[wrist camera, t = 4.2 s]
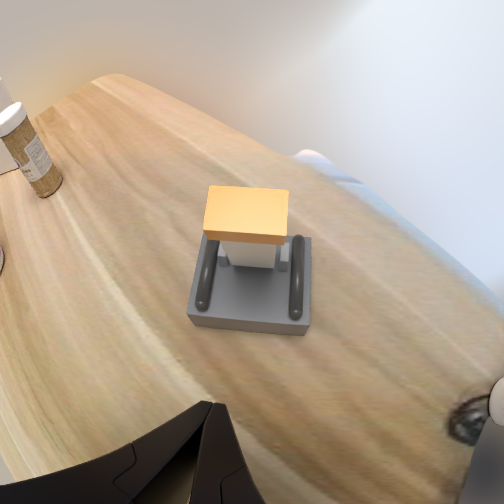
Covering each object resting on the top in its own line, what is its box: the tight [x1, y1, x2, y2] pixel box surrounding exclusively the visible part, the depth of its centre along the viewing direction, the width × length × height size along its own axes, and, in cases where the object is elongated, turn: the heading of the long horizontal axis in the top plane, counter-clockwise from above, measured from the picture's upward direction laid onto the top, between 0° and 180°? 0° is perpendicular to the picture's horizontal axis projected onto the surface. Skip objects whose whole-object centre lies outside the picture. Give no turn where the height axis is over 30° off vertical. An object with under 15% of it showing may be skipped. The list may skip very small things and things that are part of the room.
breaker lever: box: [203, 186, 289, 269], centre depth 19 cm, size 2×4×9 cm, turn 84°
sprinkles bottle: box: [0, 102, 62, 197], centre depth 28 cm, size 5×5×13 cm
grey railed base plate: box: [187, 232, 311, 336], centre depth 24 cm, size 8×9×5 cm
